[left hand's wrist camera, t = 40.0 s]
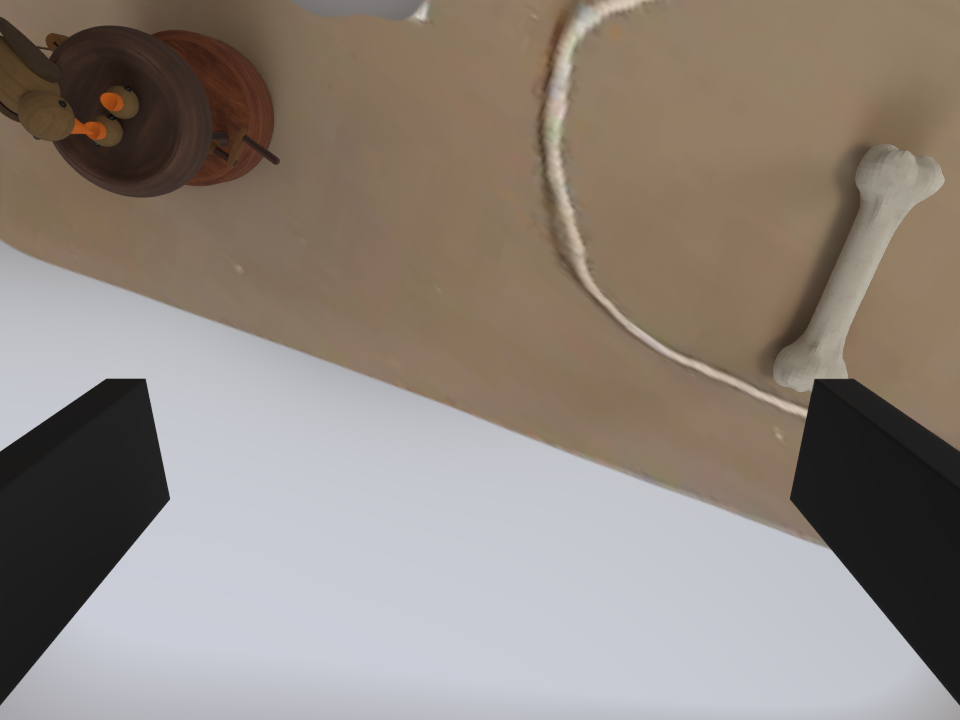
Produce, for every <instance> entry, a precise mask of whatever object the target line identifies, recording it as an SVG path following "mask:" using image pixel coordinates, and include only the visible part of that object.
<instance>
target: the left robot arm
mask: <svg viewBox="0 0 960 720" xmlns="http://www.w3.org/2000/svg"><path fill="white" fill-rule="evenodd" d="M169 500H170V496H169V491H168V486H167V482H166V476H165V472H164V467H163V462H162V457H161V452H160V447H159V442H158V437H157V432H156V428H155V423H154V418H153V413H152V408H151V403H150V398H149V393H148V389H147V383H146V379H105V380H104V381H102V382H101V383H100V384H98V385H97V386H95V387H94V388H92V389H91V390H89V391H88V392H86V393H85V394H84V395H82V396H81V397H79V398H78V399H76V400H75V401H73V402H72V403H70V404H69V405H67V406H66V407H65V408H63V409H62V410H60V411H59V412H57V413H56V414H54V415H53V416H51V417H50V418H48V419H47V420H46V421H44V422H43V423H41V424H40V425H38V426H37V427H35V428H34V429H33V430H31V431H30V432H28V433H27V434H25V435H24V436H22V437H21V438H19V439H18V440H16V441H15V442H13V443H12V444H11V445H9V446H8V447H6V448H5V449H3V450H2V451H0V705H1V704H2V703H3V701H4V700H5V699H6V698H7V697H8V695H9V694H10V693H11V692H12V691H13V689H14V688H15V687H16V686H17V684H18V683H19V682H20V681H21V680H22V678H23V677H24V676H25V675H26V674H27V672H28V671H29V670H30V669H31V667H32V666H33V665H34V664H35V663H36V661H37V660H38V659H39V658H40V656H41V655H42V654H43V653H44V652H45V650H46V649H47V648H48V647H49V646H50V644H51V643H52V642H53V641H54V640H55V638H56V637H57V636H58V635H59V633H60V632H61V631H62V630H63V629H64V627H65V626H66V625H67V624H68V622H69V621H70V620H71V619H72V618H73V616H74V615H75V614H76V613H77V612H78V610H79V609H80V608H81V607H82V605H83V604H84V603H85V602H86V601H87V599H88V598H89V597H90V596H91V595H92V593H93V592H94V591H95V590H96V588H97V587H98V586H99V585H100V584H101V582H102V581H103V580H104V579H105V578H106V576H107V575H108V574H109V573H110V572H111V570H112V569H113V568H114V567H115V565H116V564H117V563H118V562H119V561H120V559H121V558H122V557H123V556H124V555H125V553H126V552H127V551H128V550H129V548H130V547H131V546H132V545H133V544H134V542H135V541H136V540H137V539H138V538H139V536H140V535H141V534H142V533H143V531H144V530H145V529H146V528H147V527H148V525H149V524H150V523H151V522H152V521H153V519H154V518H155V517H156V516H157V514H158V513H159V512H160V511H161V510H162V508H163V507H164V506H165V505H166V504H167V502H168V501H169ZM790 500H791V501H792V502H793V504H794V505H795V506H796V507H797V508H798V510H799V511H800V512H801V513H802V514H803V516H804V517H805V518H806V519H807V521H808V522H809V523H810V524H811V525H812V527H813V528H814V529H815V530H816V531H817V533H818V534H819V535H820V536H821V538H822V539H823V540H824V541H825V542H826V544H827V545H828V546H829V547H830V548H831V550H832V551H833V552H834V553H835V554H836V556H837V557H838V558H839V559H840V561H841V562H842V563H843V564H844V565H845V567H846V568H847V569H848V570H849V572H850V573H851V574H852V575H853V576H854V578H855V579H856V580H857V581H858V582H859V584H860V585H861V586H862V587H863V589H864V590H865V591H866V592H867V593H868V594H869V596H870V597H871V598H872V599H873V601H874V602H875V603H876V604H877V605H878V607H879V608H880V609H881V610H882V612H883V613H884V614H885V615H886V616H887V618H888V619H889V620H890V621H891V623H892V624H893V625H894V626H895V627H896V629H897V630H898V631H899V632H900V633H901V635H902V636H903V637H904V638H905V639H906V641H907V642H908V643H909V644H910V646H911V647H912V648H913V649H914V650H915V652H916V653H917V654H918V655H919V656H920V658H921V659H922V660H923V661H924V663H925V664H926V665H927V666H928V667H929V669H930V670H931V671H932V672H933V674H934V675H935V676H936V677H937V678H938V680H939V681H940V682H941V683H942V684H943V686H944V687H945V688H946V689H947V691H948V692H949V693H950V694H951V695H952V697H953V698H954V699H955V700H956V701H957V703H958V704H959V705H960V451H958V450H957V449H955V448H954V447H952V446H951V445H949V444H948V443H947V442H945V441H944V440H942V439H941V438H939V437H938V436H936V435H935V434H933V433H932V432H930V431H929V430H928V429H926V428H925V427H923V426H922V425H920V424H919V423H917V422H916V421H914V420H913V419H912V418H910V417H909V416H907V415H906V414H904V413H903V412H901V411H900V410H898V409H897V408H895V407H894V406H893V405H891V404H890V403H888V402H887V401H885V400H884V399H882V398H881V397H879V396H878V395H877V394H875V393H874V392H872V391H871V390H869V389H868V388H866V387H865V386H863V385H862V384H860V383H859V382H858V381H856V380H855V379H814V383H813V388H812V393H811V398H810V403H809V408H808V413H807V418H806V423H805V428H804V432H803V437H802V442H801V447H800V452H799V457H798V462H797V467H796V472H795V476H794V481H793V486H792V491H791V496H790Z"/></svg>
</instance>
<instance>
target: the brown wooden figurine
mask: <svg viewBox="0 0 960 720" xmlns="http://www.w3.org/2000/svg"><path fill="white" fill-rule="evenodd" d="M0 32H1V33H2V35H3V36H4V37H3V36H1V35H0V112H1V113H2V114H4V115H5V116H7V117H8V118H10V119H12V120H14V121H17V122H20V123H21V124H22V125H23V127H24V128H25V129H26V130H27V131H28V132H29V133H30V134H32V135H33V137H34V138H35V139H37V140H40V139H42V140H46V141H52V142H53V144H54V145H55V147H56V148H57V150H58V151H59V153H60V154H61V155H62V157H63V158H64V159H65V160H66V162H67V163H68V164H69V165H70V166H71V167H72V168H73V169H74V170H75V171H77V172H78V173H79V174H80V175H81V176H83V177H84V178H85V179H87V180H88V181H90V182H92V183H93V184H95V185H97V186H99V187H101V188H103V189H105V190H107V191H110V192H113V193H116V194H120V195H124V196H129V197H155V196H160V195H164V194H167V193H170V192H172V191H174V190H176V189H178V188H180V187H182V186H183V185H191V186H208V185H213V184H218V183H222V182H226V181H230V180H234V179H237V178H239V177H241V176H243V175H245V174H246V173H248V172H249V171H251V170H252V169H253V168H254V167H255V166H256V165H257V164H258V163H259V162H260V161H261V159H262V158H263V156H264V157H265V158H266V159H268V160H269V161H270V162H272V163H273V164H275V165H277V164H279V162H280V160H279V158H277V157H276V156H275V155H273V154H272V153H271V152H269V151H268V150H267V149H268V146H269V144H270V141H271V137H272V132H273V108H272V103H271V99H270V96H269V93H268V90H267V88H266V85H265V83H264V81H263V79H262V78H261V76H260V74H259V73H258V72H257V70H256V69H255V67H254V66H253V65H252V64H251V63H250V62H249V61H248V60H247V59H246V58H245V57H244V56H243V55H242V54H241V53H240V52H238V51H237V50H235V49H234V48H232V47H231V46H229V45H227V44H225V43H223V42H221V41H219V40H216V39H213V38H209V37H206V36H203V35H200V34H197V33H193V32H189V31H182V30H169V31H162V32H158V33H155V34H152V35H149V34H147V33H144V32H142V31H139V30H136V29H132V28H128V27H122V26H98V27H93V28H89V29H85V30H83V31H80V32H78V33H76V34H74V35H72V36H71V37H67V36H63V35H59V34H54V33H51V34H49V35H47V37H46V44H47V46H48V48H46V47H40V46H35V45H34V44H33V43H32V42H31V41H30V40H29V39H28V38H27V37H26V36H24V35H23V34H22V33H21V32H20V31H19V30H18V29H16V28H15V27H14V26H13V25H12V24H10V23H9V22H8V21H7V20H5V19H4V18H2V17H0ZM39 49H44V50H50V51H52V52H53V54H52V55H51V57H50V58H49V59H48V58H47V57H46V56H45V55H44V53H43V52H42V51H41V50H39Z"/></svg>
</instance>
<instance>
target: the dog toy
mask: <svg viewBox="0 0 960 720" xmlns="http://www.w3.org/2000/svg"><path fill="white" fill-rule="evenodd" d="M944 181H945V179H944V176H943V174H942V171H941V168H940V167H939V165H938V164H937V162H936V161H935V160H933V159H932V158H931V157H929V156H925V155H922V156H919V157H915V156H913V155H912V154H911V153H910V152H909V151H907V150H899V149H898V148H896V147H895V146H893V145H890V144H878V145H875V146H873V147H871V148H870V149H869V150H868V151H867V152H866V154H865V155H864V156H863V158H862V160H861V161H860V163H859V165H858V168H857V170H856V173H855V183H856V185H857V187H858V189H859V192H860V207H859V210H858V213H857V216H856V218H855V221H854V223H853V225H852V228H851V230H850V232H849V235H848V237H847V239H846V242H845V244H844V246H843V248H842V251H841V253H840V255H839V258H838V260H837V262H836V264H835V267H834V269H833V271H832V274H831V276H830V278H829V280H828V283H827V285H826V287H825V289H824V292H823V294H822V296H821V299H820V301H819V303H818V305H817V308H816V310H815V312H814V314H813V317H812V319H811V321H810V323H809V325H808V327H807V329H806V331H805V332H804V333H803V335H802V336H800V337H799V338H798V339H797V340H796V341H795V342H794V343H792V344H790V345H788V346H786V347H784V348H783V349H782V350H781V351H780V352H779V353H778V355H777V357H776V359H775V362H774V366H773V377H774V379H775V381H776V382H777V383H778V384H779V385H781V386H784V387H791V388H793V389H795V390H796V391H798V392H803V391H807V390H810V392H812V388H813V383H814V379H848V374H847V370H846V366H845V363H844V361H843V358H842V353H843V347H844V343H845V339H846V336H847V333H848V330H849V328H850V325H851V323H852V320H853V318H854V316H855V314H856V312H857V310H858V307H859V305H860V303H861V301H862V299H863V297H864V294H865V292H866V290H867V288H868V286H869V284H870V282H871V279H872V277H873V275H874V273H875V271H876V269H877V266H878V264H879V262H880V260H881V258H882V256H883V254H884V251H885V249H886V247H887V245H888V243H889V241H890V239H891V237H892V236H893V234H894V232H895V230H896V229H897V227H898V225H899V224H900V223H901V221H902V220H903V218H904V217H905V216H906V214H907V213H908V212H909V211H910V209H911V208H912V207H913V206H914V205H915V204H917V203H918V202H920V201H922V200H924V199H926V198H927V197H929V196H931V195H932V194H934V193H935V192H937V191H938V189H939V188H940V187H942V185H943V183H944Z"/></svg>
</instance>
